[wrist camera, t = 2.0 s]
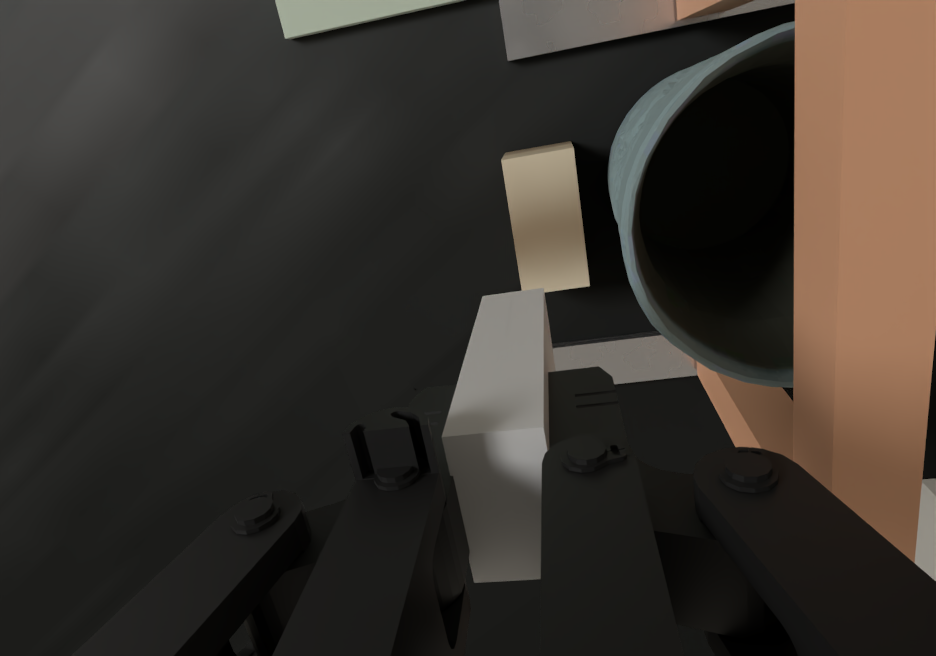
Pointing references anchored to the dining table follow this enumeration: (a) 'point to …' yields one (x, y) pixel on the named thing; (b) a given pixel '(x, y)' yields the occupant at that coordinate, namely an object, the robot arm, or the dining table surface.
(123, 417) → the dining table surface
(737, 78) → the grey open tube
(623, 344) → the rails
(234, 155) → the dining table surface
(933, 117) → the wooden arch
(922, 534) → the light grey box
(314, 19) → the coaster
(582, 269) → the beige rectangular block
